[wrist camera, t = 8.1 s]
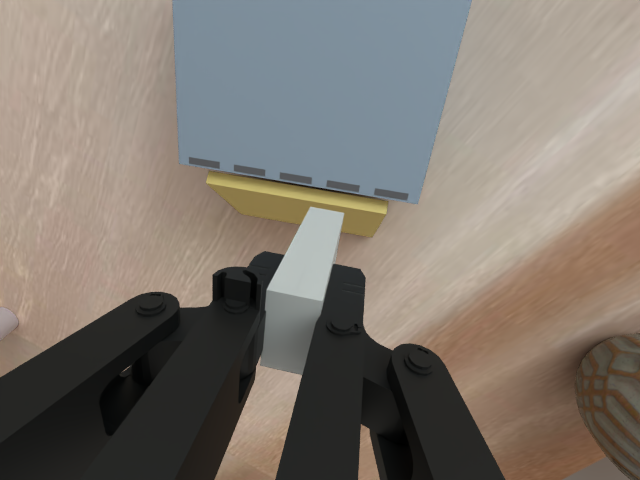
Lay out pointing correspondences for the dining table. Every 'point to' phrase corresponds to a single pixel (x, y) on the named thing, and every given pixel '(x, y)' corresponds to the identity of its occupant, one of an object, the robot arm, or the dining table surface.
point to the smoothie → (7, 322)
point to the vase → (613, 400)
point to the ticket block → (316, 89)
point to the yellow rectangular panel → (297, 202)
